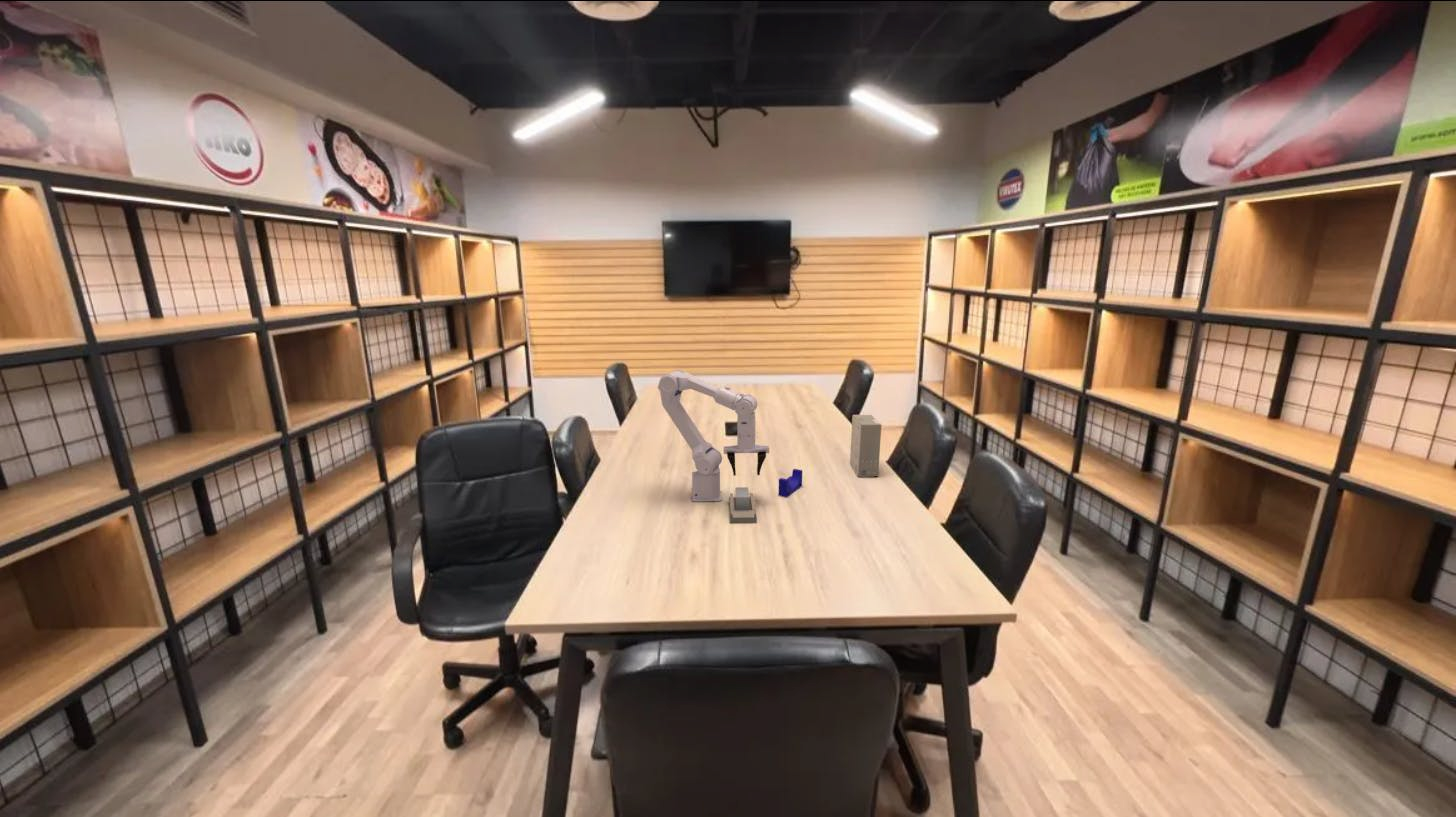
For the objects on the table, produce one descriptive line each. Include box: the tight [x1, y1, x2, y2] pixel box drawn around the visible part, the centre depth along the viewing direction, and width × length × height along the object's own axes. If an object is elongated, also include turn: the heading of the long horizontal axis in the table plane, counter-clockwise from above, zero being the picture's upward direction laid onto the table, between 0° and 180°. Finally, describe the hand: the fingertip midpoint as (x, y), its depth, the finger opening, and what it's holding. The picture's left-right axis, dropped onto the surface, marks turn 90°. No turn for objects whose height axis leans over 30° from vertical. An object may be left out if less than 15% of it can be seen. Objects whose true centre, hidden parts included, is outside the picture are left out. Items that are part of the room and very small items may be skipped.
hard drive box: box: [849, 414, 883, 478], centre depth 207 cm, size 16×8×20 cm, turn 179°
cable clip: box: [778, 468, 803, 498], centre depth 190 cm, size 12×4×6 cm, turn 148°
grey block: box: [735, 486, 750, 510], centre depth 173 cm, size 4×8×5 cm, turn 1°
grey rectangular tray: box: [728, 492, 758, 524], centre depth 173 cm, size 8×16×4 cm, turn 1°
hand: (746, 474), depth 179 cm, fingers open, 7 cm apart
